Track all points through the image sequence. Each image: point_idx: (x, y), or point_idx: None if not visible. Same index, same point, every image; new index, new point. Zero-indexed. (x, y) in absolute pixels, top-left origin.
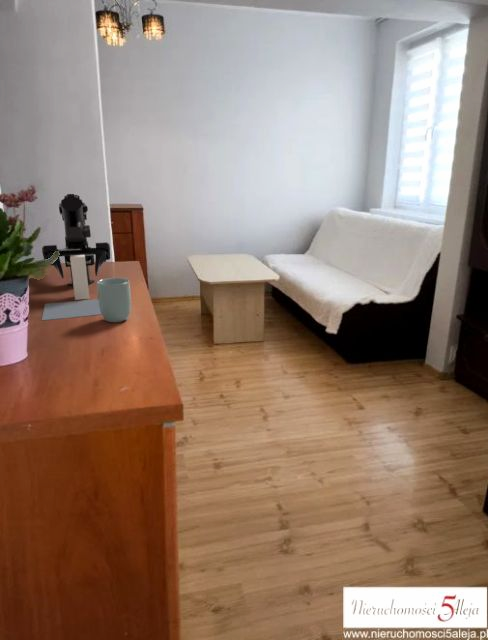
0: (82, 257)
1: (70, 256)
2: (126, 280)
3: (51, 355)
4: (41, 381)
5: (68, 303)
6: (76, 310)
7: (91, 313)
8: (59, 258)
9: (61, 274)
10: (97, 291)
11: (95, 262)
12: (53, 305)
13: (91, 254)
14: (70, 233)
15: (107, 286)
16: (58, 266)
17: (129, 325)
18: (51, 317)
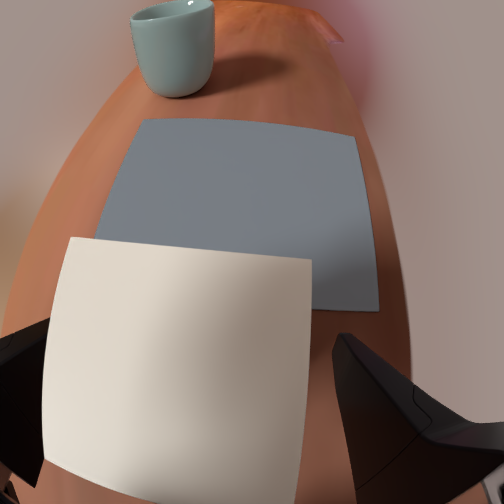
0: (105, 245)
1: (299, 405)
2: (134, 17)
3: (302, 38)
4: (303, 20)
5: None
6: (262, 171)
7: (222, 131)
8: (434, 445)
9: (356, 341)
10: (214, 22)
11: (24, 348)
12: (347, 271)
13: (10, 497)
14: None
15: (197, 1)
16: (405, 381)
17: None
18: (333, 143)
